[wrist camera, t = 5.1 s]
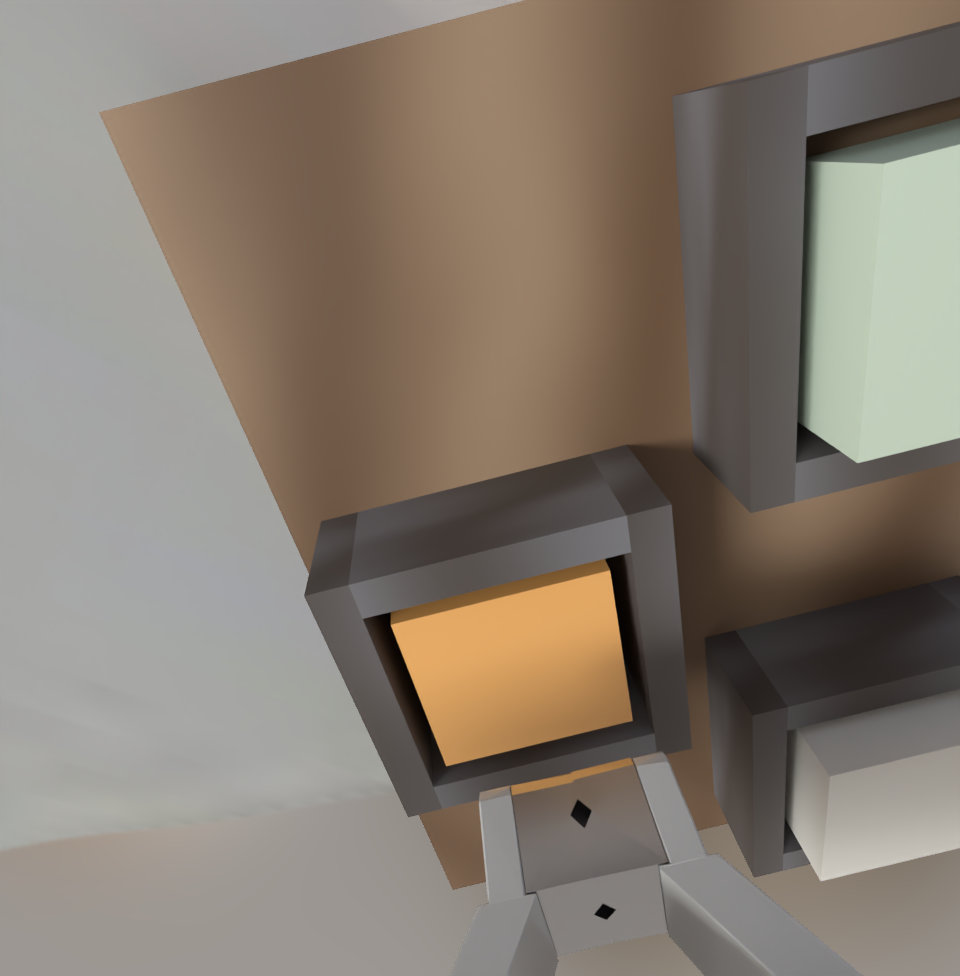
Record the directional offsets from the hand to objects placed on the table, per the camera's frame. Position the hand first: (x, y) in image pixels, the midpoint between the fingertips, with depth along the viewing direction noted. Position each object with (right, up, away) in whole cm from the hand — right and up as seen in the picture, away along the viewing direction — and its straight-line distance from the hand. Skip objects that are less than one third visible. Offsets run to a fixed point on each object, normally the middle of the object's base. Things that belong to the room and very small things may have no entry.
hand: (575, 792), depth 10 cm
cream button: (+8, -2, +6) cm, 10 cm away
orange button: (-1, +2, +4) cm, 5 cm away
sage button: (+6, +9, 0) cm, 10 cm away
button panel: (+3, +4, +6) cm, 8 cm away
